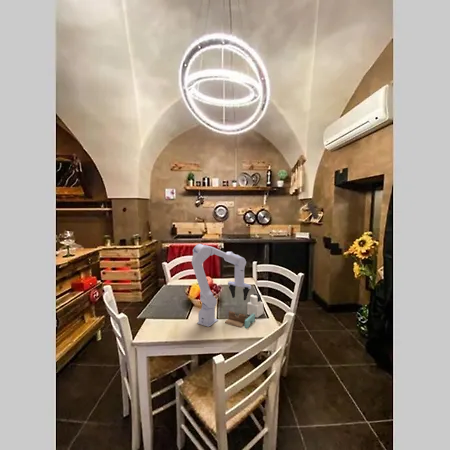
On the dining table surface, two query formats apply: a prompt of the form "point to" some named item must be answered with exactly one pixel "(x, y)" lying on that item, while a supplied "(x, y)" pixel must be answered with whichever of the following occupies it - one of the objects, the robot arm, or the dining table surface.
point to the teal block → (249, 320)
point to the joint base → (236, 319)
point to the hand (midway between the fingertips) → (239, 298)
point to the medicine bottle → (255, 305)
